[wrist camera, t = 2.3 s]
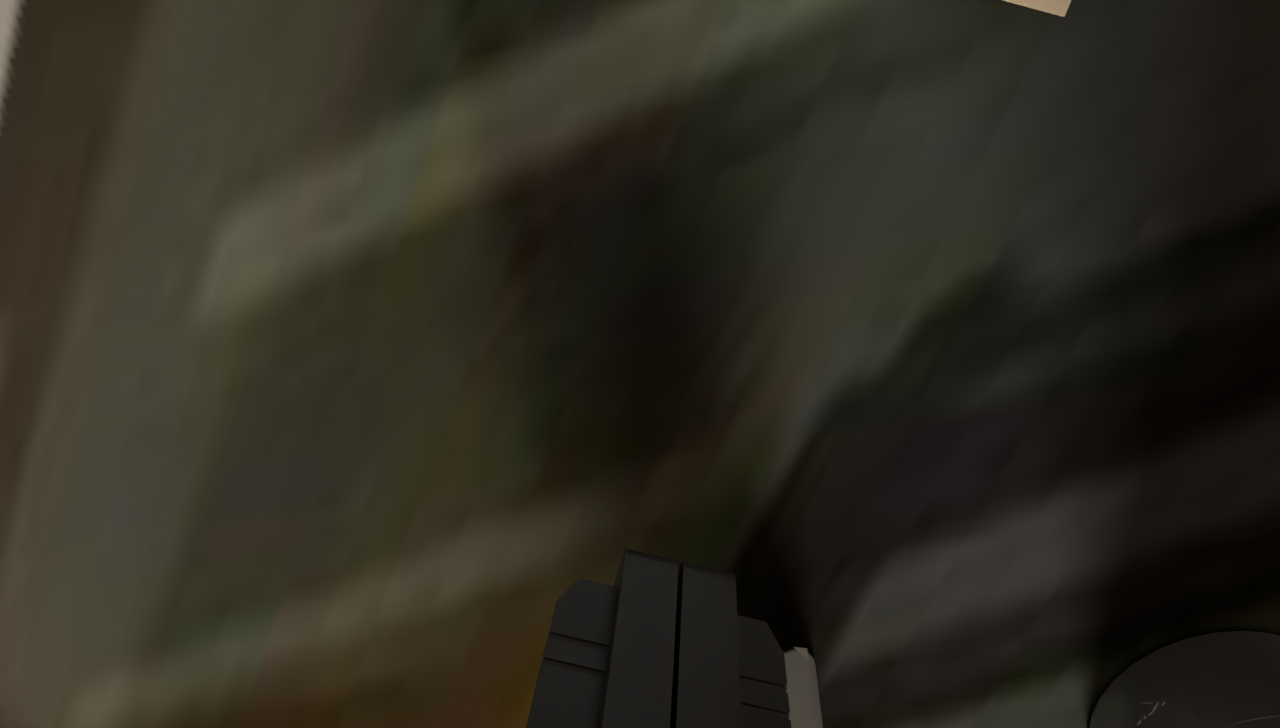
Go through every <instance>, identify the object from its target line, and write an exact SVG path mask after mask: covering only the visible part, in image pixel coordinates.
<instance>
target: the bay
mask: <svg viewBox="0 0 1280 728" xmlns="http://www.w3.org/2000/svg"><path fill="white" fill-rule="evenodd" d="M1003 1H1006V2H1010V3H1014V4H1018V5H1021V6H1025V7H1029V8H1033V9H1036V10H1040V11H1044V12H1047V13H1051V14H1055V15H1059V16H1062V17H1065V14H1066V12H1067V10H1068V7H1069V5H1070V3H1071V0H1003Z"/></svg>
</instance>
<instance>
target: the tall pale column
mask: <svg viewBox="0 0 1280 728" xmlns="http://www.w3.org/2000/svg"><path fill="white" fill-rule="evenodd" d="M783 652H784V657H785V667H786V677H787V690H786V692H787V693H788V698H789V708H790V715H789V720H791V728H823V724H822V716H821V709H820V701H819V693H818V684H817V676H816V667H815V659H814V657H813V655H812V654H811V653H810V651H809V650H808V649H807V648H798V647H791V648H789V649H786V650H783Z"/></svg>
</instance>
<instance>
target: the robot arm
mask: <svg viewBox="0 0 1280 728" xmlns="http://www.w3.org/2000/svg"><path fill="white" fill-rule="evenodd" d="M786 690H787V677H786V667H785V657H784V652H783V651H782V649H781V647H780V645H779V644H778V642H777V640H776V638H775V637H774V635H773V633H772V631H771V629H770V628H769V626H768V624H767V622H765V621H761V620H757V619H752V618H748V617H744V616H740V615H737V592H736V578H735V575H734V574H731V573H727V572H722V571H718V570H714V569H710V568H705V567H701V566H697V565H693V564H688V563H684V562H681V563H680V565H679V567H678V561H675V560H670V559H666V558H662V557H658V556H653V555H649V554H645V553H641V552H636V551H632V550H628V549H625V550H624V553H623V556H622V559H621V562H620V566H619V569H618V573H617V576H616V580H615V583H614V586H610V585H606V584H602V583H597V582H593V581H589V580H585V579H580V578H578V579H577V580H576V581H575V582H574V584H573V585H572V586H571V587H570V588H569V589H568V590H567V591H566V592H565V593H564V594H563V595H562V596H561V597H560V598H559V599H558V600H557V603H556V607H555V611H554V615H553V619H552V623H551V627H550V631H549V635H548V639H547V643H546V647H545V651H544V655H543V659H542V663H541V667H540V671H539V675H538V679H537V683H536V687H535V692H534V696H533V700H532V704H531V709H530V713H529V717H528V722H527V726H526V728H791V720H789V715H790V708H789V698H788V693H787V692H786ZM1090 728H1280V636H1279V635H1275V634H1272V633H1263V632H1251V631H1231V632H1218V633H1210V634H1205V635H1201V636H1196V637H1192V638H1188V639H1184V640H1181V641H1178V642H1176V643H1173V644H1171V645H1168V646H1165V647H1163V648H1160V649H1158V650H1156V651H1154V652H1152V653H1151V654H1149V655H1147V656H1145V657H1144V658H1142V659H1140V660H1139V661H1137V662H1135V663H1134V664H1132V665H1131V666H1130V667H1129V668H1128V669H1126V670H1125V671H1124V672H1123V673H1122V674H1120V675H1119V676H1118V677H1117V678H1116V679H1115V680H1114V681H1113V682H1112V683H1111V684H1110V686H1109V687H1108V688H1107V689H1106V691H1105V692H1104V693H1103V694H1102V696H1101V697H1100V699H1099V701H1098V703H1097V705H1096V707H1095V710H1094V712H1093V714H1092V717H1091V722H1090Z"/></svg>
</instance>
